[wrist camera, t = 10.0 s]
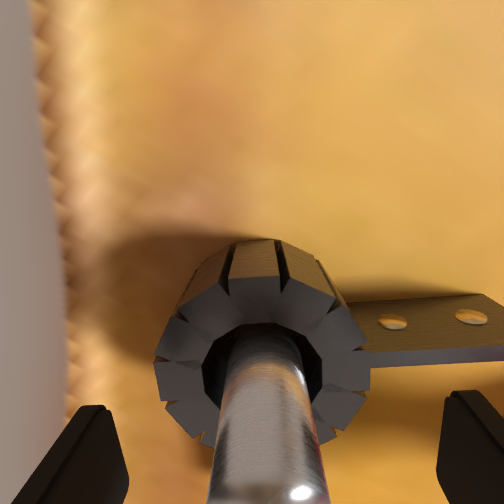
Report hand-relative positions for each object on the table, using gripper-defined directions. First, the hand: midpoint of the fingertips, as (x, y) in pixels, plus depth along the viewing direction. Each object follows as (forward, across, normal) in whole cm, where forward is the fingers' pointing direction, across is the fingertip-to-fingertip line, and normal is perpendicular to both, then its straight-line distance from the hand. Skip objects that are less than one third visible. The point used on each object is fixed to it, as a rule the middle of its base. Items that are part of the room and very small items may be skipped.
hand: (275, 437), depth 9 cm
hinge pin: (+8, 0, +1) cm, 8 cm away
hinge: (+8, -3, +4) cm, 10 cm away
